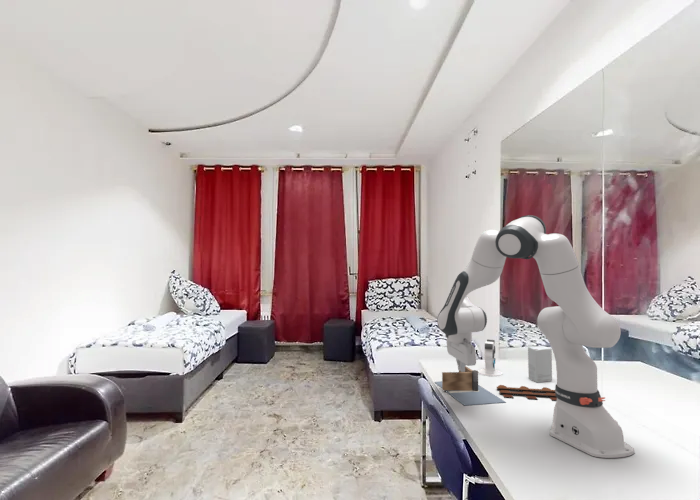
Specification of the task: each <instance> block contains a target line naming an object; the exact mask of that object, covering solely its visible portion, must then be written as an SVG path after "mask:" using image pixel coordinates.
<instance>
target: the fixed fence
mask: <svg viewBox="0 0 700 500" xmlns="http://www.w3.org/2000/svg"><path fill="white" fill-rule="evenodd" d="M458 372H461V371H460V370H458ZM465 372H471V373H472V390H473V391H478V385H479V373H478V370H475V369H474V370H473V369H471V368H470V367H469V366H467V365H466V366H465Z"/></svg>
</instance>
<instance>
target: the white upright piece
mask: <svg viewBox="0 0 700 500" xmlns="http://www.w3.org/2000/svg"><path fill="white" fill-rule="evenodd" d="M495 342H496V341H495V339H486V341H485V343H484V353H483V356H484V357H483V358H484V368H480V369H478V370H477V371H478V375H479V374H480V375H482V376H487V377H500V376H501V377H502V376H503V372H502V371H501V370H498V369H495V366H496V365H495V364H496V358H495V356H496V355H495V354H496V344H495Z"/></svg>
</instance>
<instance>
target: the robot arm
mask: <svg viewBox="0 0 700 500" xmlns="http://www.w3.org/2000/svg"><path fill="white" fill-rule="evenodd" d="M507 258H508V259H520V260H521V259H522V260H530V259H532V258H533V259H534V260H535V261H536V264H537V266H538V269H539V275H540V278H541V281H542V284H543V288H544V291H545V293H546V296H547V297H548V298H549V300H551V301H552V302H555V303H556V306H548V307H544V308H543V309H541V310H540V312H539V313H538V316H537V318H536V322H537V327H538V330H539V331H540V332H541V334H543V336H545V338H546V340H547V341H548V343H549V345H550V347H551V349H552V352H553V356H554V359H555V366H556V367H555V368H556V369H555V370H556V384H555V387H554V390H555V396H556V397H557V400H556V401H555V404H554V407H553V415H552V426H551V429H550V430H549V435H550V437H554V439H557V440H559V441H561V442H563V443H565V444H567V445H569V446H571V447H574V448H575V449H578V450H579V451H581V452H584V453H585V454H588V455H590V456H592V457H596V458H603V459H617V458H624V457H629V456H632V455H634V454H635V448H634V447H633V446H631V445H630V444H628V443H627V442H626V441H625V440H624V439H625V437H624V432H623V429H622V427H621V426H620V424H619V423H618V421H617V420H615V418H614V417H613V416H612V415H611V414H610V412H608V410H607V409H606V408H605V407H604V406H603V405H604V403H603V402H606V400H605V399H606V397H605V396H604V397H602V396H601V393H600V390H599V389H598V366H597V363H596V362H595V361H594V360H593V359H592V358H591V357H590V356H589V355H588V353H586V350H585V348H584V347H588V348H593V349H595V348H596V349H608V348H609V349H610V348H612V347H615V345H616V344H618V342H619V340H620V338H621V334H622V333H621V332H622V331H621V326H620V323H619V322H618V320H617V319H616V318H615V317H614V316H613V315H611V314H610V313H608V312H607V311H605V309H603V308H602V307H601V305H600V304H598V302H597V301H596V300H595V299H594V298H593V296H592V294H591V292H590V291H589V290H588V288H587V285H586V282H585V280H584V279H585V278H584V277H583V274H582V271H581V267H580V264H579V261H578V258H577V255H576V253H575V249H574V248H573V246H572V244H571V242H570V240H569V239H568V238H567V236H565V235H564V234H561V233H556V232H555V233H549V234H548V233H547V227H546V224H545V222H544V221H543V219H541V218H540V217H538V216H536V215H532V214H527V215H522V216H520V217H518V218H517V219H514V220H512V221H510V222H509V223H507V224H506V225H505V226H504V227H502V228H501V229H500V230H497V229H487V230H483V232H482V233H481V234H480V235H479V237H478V239H477V241H476V244H475V246H474V248H473V252H472V255H471V257H470V261H469V263H468V264H467V266H466V267H465V268H464V269H463V270H462V271H461V272H459V274H458V275H457V276H456V278H455V280H454V282H453V285H452V286H451V289H450V292H449V294H448V297H447V299H446V301H445V303H444V305H443V307H442V308H441V309H440V311H439V313H438V314H437V319H436V321H437V327H438V329H439V330H440V331H441V332H442V333H443V334H444V335H445V338H446V349H447V353H448V355H450V356H451V357H453V358H454V359H455V362H456V365H457V369H458V371H459V370H460V371H461V372H465V366H466V367H469V366H476V364H477V357H476V350H475V346H474V344H472V341H473V337H472V336H473V335H472V334H473V333H479V332H483V331H484V330H485V329H486V327H487V323H488V319H487V318H488V316H487V313H486V311H484V310H483V308H482V307H479V306H477V305H475V304H474V303H472V301H471V300H470V298H469V297H468V296H467V295H469V294H470V293H471V292H473V291H476V290H477V289H480V288H483V287H486V286H489V285H492V284H494V283H495V282H496V281H498V280H499V278H500V276H502V275H501V274H502V273H503V270H504V266H505V263H506V260H507ZM557 305H558V306H557ZM583 346H584V347H583Z"/></svg>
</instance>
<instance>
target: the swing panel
mask: <svg viewBox="0 0 700 500" xmlns="http://www.w3.org/2000/svg"><path fill="white" fill-rule="evenodd" d="M441 374H442V375H441V377H442V378H441V379H442V380H441V381H442V388H441V389H442V391H445V390H472V373H471V372H459V371H456V372H455V371H453V372H451V371H447V372H445V371H443V372H441Z"/></svg>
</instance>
